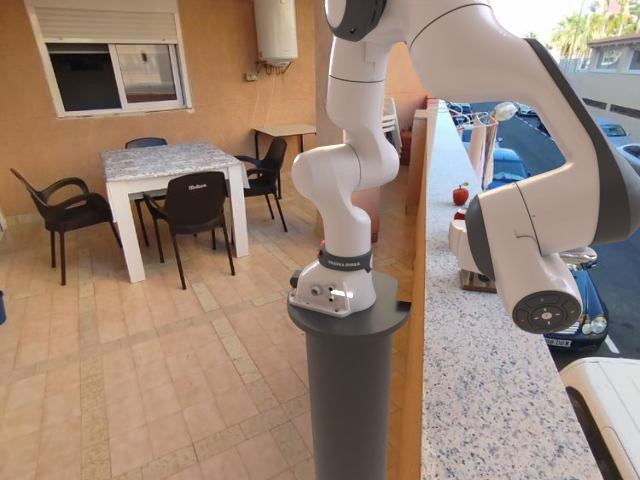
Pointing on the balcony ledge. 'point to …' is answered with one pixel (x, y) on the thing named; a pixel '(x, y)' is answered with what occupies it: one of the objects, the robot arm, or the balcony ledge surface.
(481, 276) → the latch lever
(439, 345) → the balcony ledge surface
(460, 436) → the balcony ledge surface
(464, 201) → the apple
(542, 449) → the balcony ledge surface
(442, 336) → the balcony ledge surface
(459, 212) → the soda can
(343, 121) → the robot arm
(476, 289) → the brown upright frame
